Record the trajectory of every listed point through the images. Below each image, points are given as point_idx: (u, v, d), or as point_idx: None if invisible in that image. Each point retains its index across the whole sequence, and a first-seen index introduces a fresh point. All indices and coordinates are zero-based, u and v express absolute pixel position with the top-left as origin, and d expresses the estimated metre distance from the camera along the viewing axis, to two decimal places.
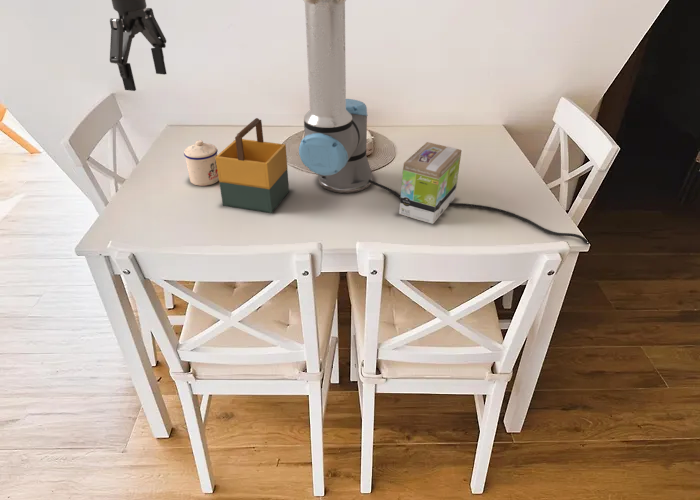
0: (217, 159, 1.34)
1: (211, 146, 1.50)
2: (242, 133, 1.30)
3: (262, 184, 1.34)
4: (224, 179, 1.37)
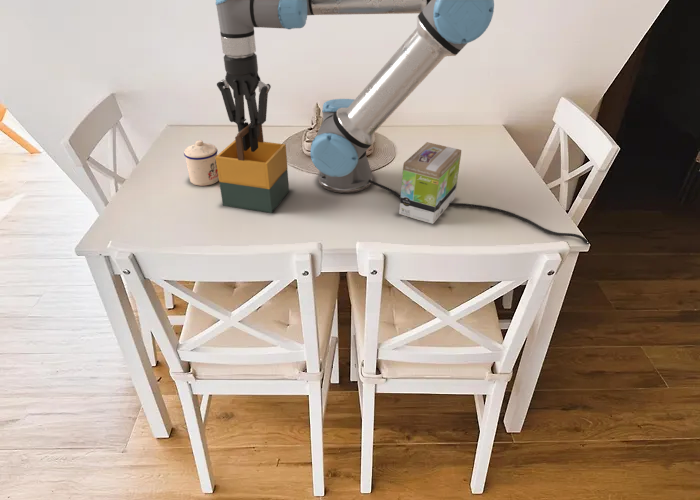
0: (217, 159, 1.34)
1: (211, 146, 1.50)
2: (242, 133, 1.30)
3: (262, 184, 1.34)
4: (224, 179, 1.37)
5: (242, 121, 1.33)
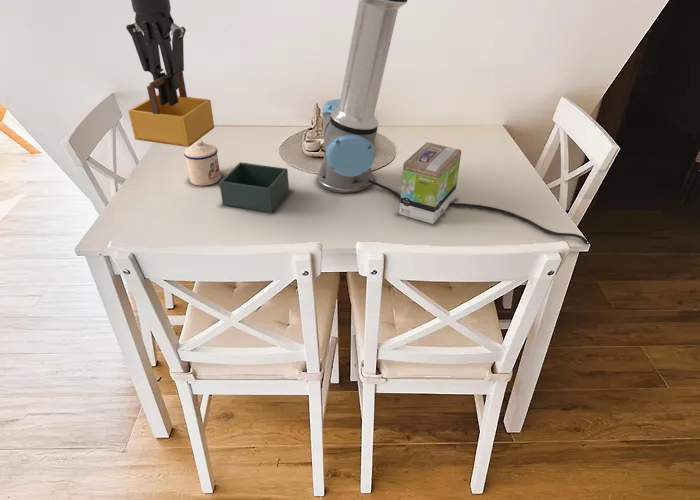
0: (130, 113, 1.21)
1: (211, 146, 1.50)
2: (155, 83, 1.16)
3: (180, 141, 1.21)
4: (140, 136, 1.24)
5: (158, 71, 1.20)
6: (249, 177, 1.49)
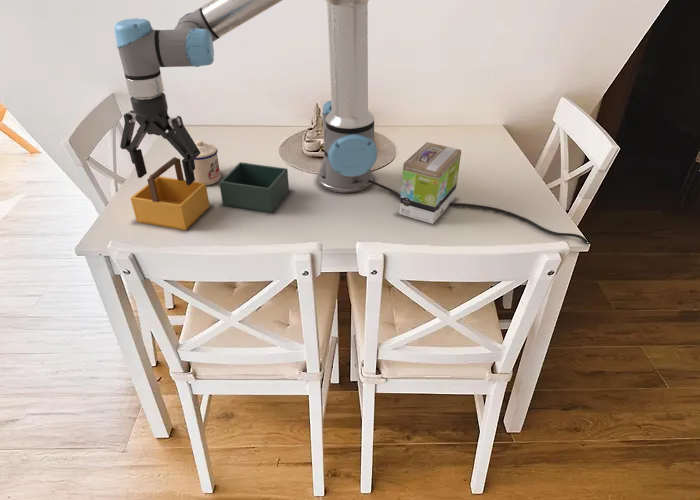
0: (132, 200, 1.32)
1: (211, 146, 1.50)
2: (155, 175, 1.27)
3: (178, 225, 1.32)
4: (141, 219, 1.34)
5: (134, 149, 1.30)
6: (249, 177, 1.49)
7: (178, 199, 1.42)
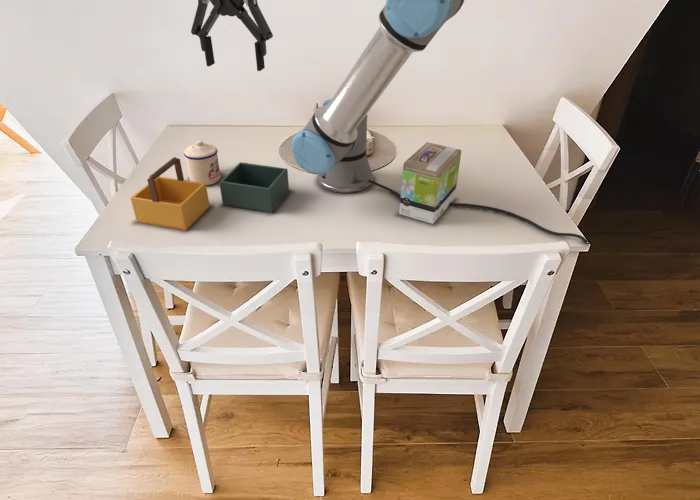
0: (132, 200, 1.32)
1: (211, 146, 1.50)
2: (155, 175, 1.27)
3: (178, 225, 1.32)
4: (141, 219, 1.34)
5: (204, 35, 1.30)
6: (249, 177, 1.49)
7: (178, 199, 1.42)
